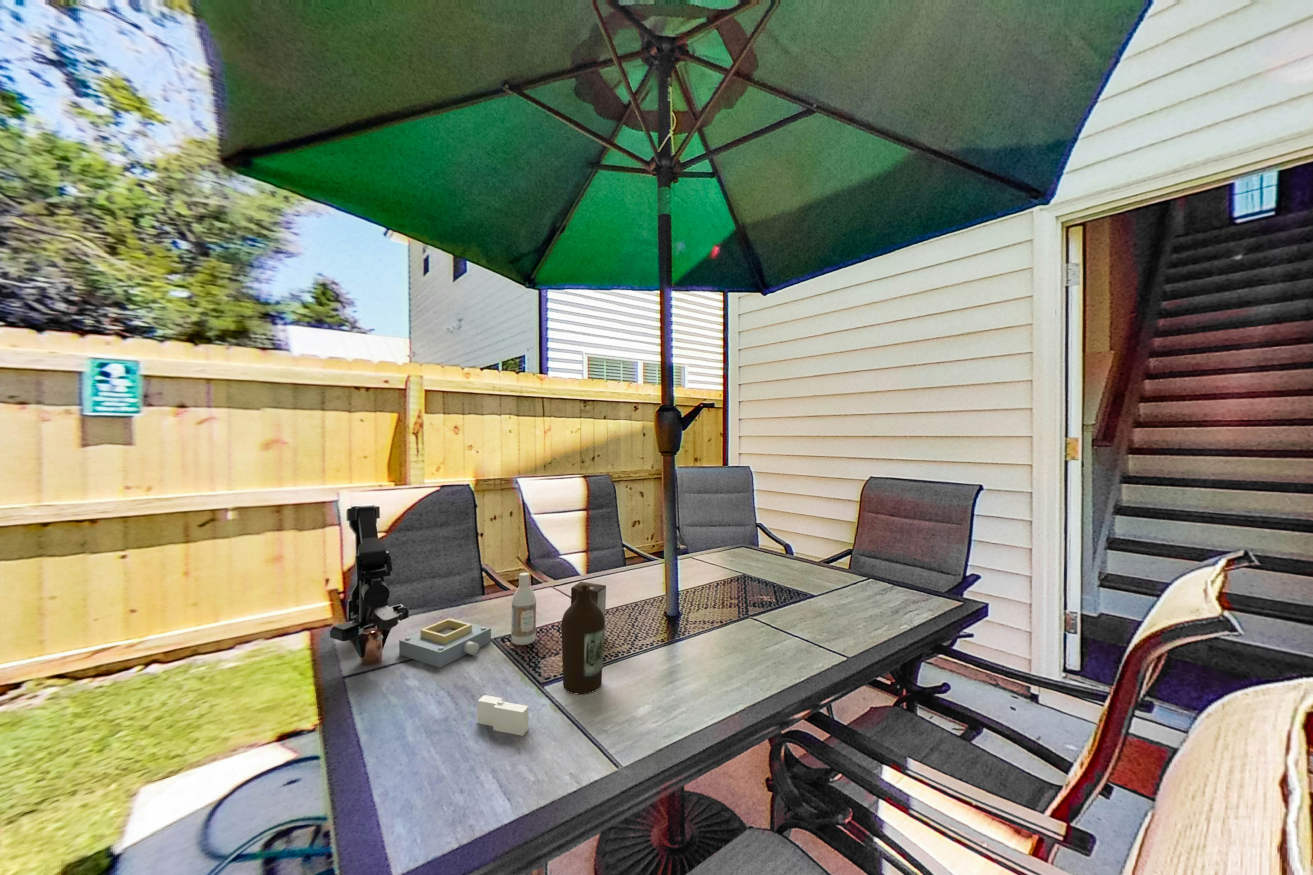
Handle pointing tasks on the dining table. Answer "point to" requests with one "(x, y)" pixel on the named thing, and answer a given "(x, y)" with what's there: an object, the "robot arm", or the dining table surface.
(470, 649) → the grey plate with frame
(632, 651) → the dining table surface
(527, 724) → the white stepped block
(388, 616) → the robot arm
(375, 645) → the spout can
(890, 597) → the dining table surface
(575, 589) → the coffee box
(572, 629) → the olive oil
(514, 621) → the bath foam
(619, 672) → the dining table surface
